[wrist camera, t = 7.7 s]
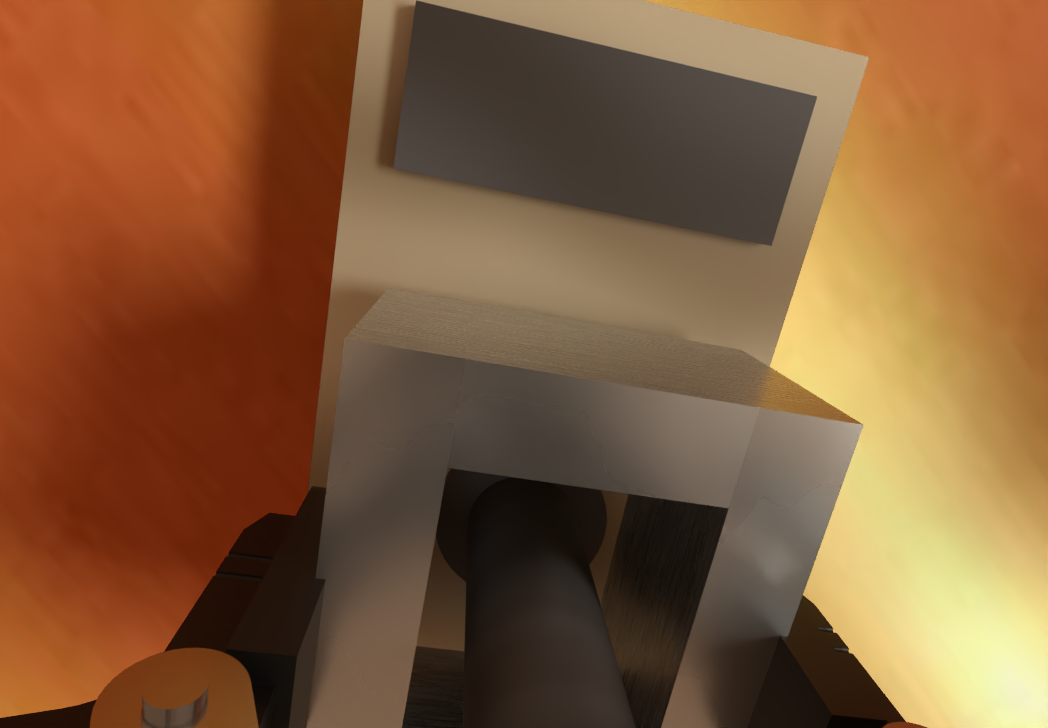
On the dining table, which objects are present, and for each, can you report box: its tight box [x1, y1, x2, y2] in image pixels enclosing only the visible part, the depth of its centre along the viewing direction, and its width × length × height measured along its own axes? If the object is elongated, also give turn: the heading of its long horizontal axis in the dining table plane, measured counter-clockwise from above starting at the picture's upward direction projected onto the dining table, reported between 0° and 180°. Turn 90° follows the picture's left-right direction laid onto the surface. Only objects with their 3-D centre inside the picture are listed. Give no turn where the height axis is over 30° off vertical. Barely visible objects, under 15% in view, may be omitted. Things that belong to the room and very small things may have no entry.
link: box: [306, 287, 863, 728], centre depth 10 cm, size 8×6×4 cm
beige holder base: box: [308, 0, 869, 728], centre depth 10 cm, size 18×8×8 cm, turn 169°
